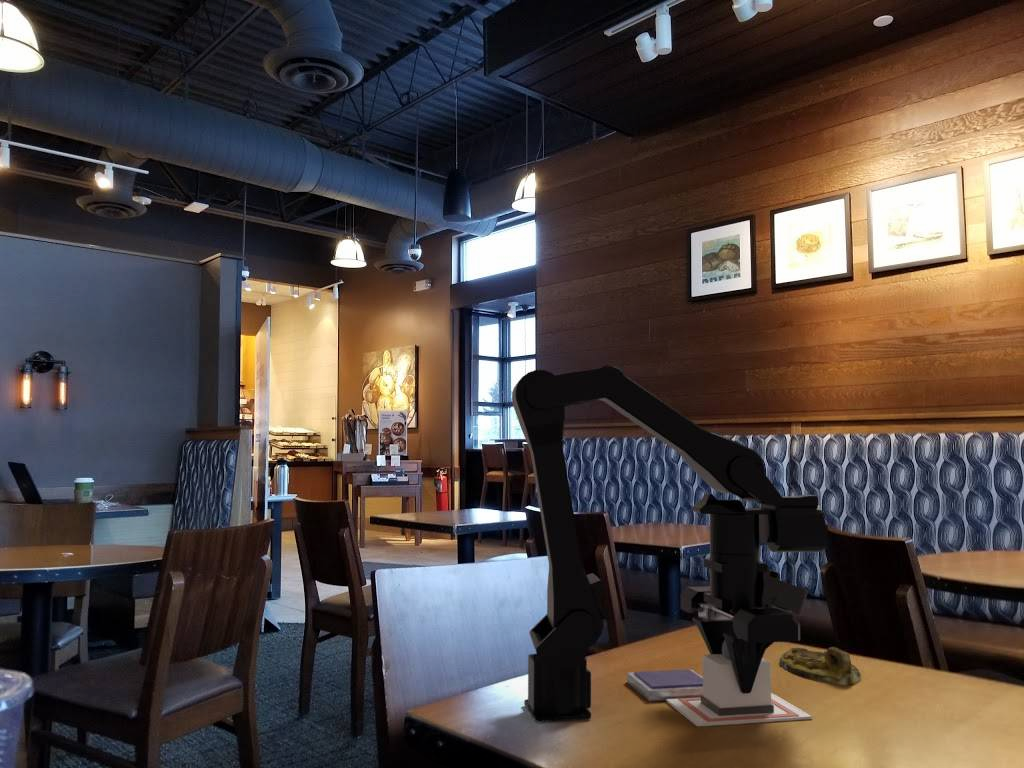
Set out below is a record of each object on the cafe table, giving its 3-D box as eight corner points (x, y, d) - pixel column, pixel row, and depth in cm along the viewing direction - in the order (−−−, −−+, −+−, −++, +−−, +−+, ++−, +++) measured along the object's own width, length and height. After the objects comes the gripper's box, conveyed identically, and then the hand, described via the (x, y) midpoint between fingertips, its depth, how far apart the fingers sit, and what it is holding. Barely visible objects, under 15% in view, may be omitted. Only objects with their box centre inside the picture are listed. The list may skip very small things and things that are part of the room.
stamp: (773, 712, 91) (772, 639, 91) (719, 715, 89) (718, 641, 90) (753, 699, 95) (752, 630, 96) (700, 702, 94) (700, 632, 95)
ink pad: (649, 701, 95) (649, 688, 96) (626, 681, 103) (626, 670, 103) (718, 697, 97) (718, 685, 97) (691, 678, 105) (691, 667, 105)
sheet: (696, 726, 87) (696, 722, 87) (666, 701, 95) (666, 698, 95) (811, 719, 90) (811, 715, 90) (772, 695, 98) (772, 692, 98)
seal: (762, 666, 116) (822, 696, 102) (758, 634, 117) (817, 659, 102) (818, 656, 118) (885, 684, 104) (814, 624, 119) (880, 648, 104)
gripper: (842, 562, 86) (846, 709, 85) (757, 542, 105) (758, 662, 103) (749, 563, 84) (751, 714, 83) (678, 543, 102) (679, 666, 101)
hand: (736, 686), depth 93 cm, fingers closed on stamp, 4 cm apart
